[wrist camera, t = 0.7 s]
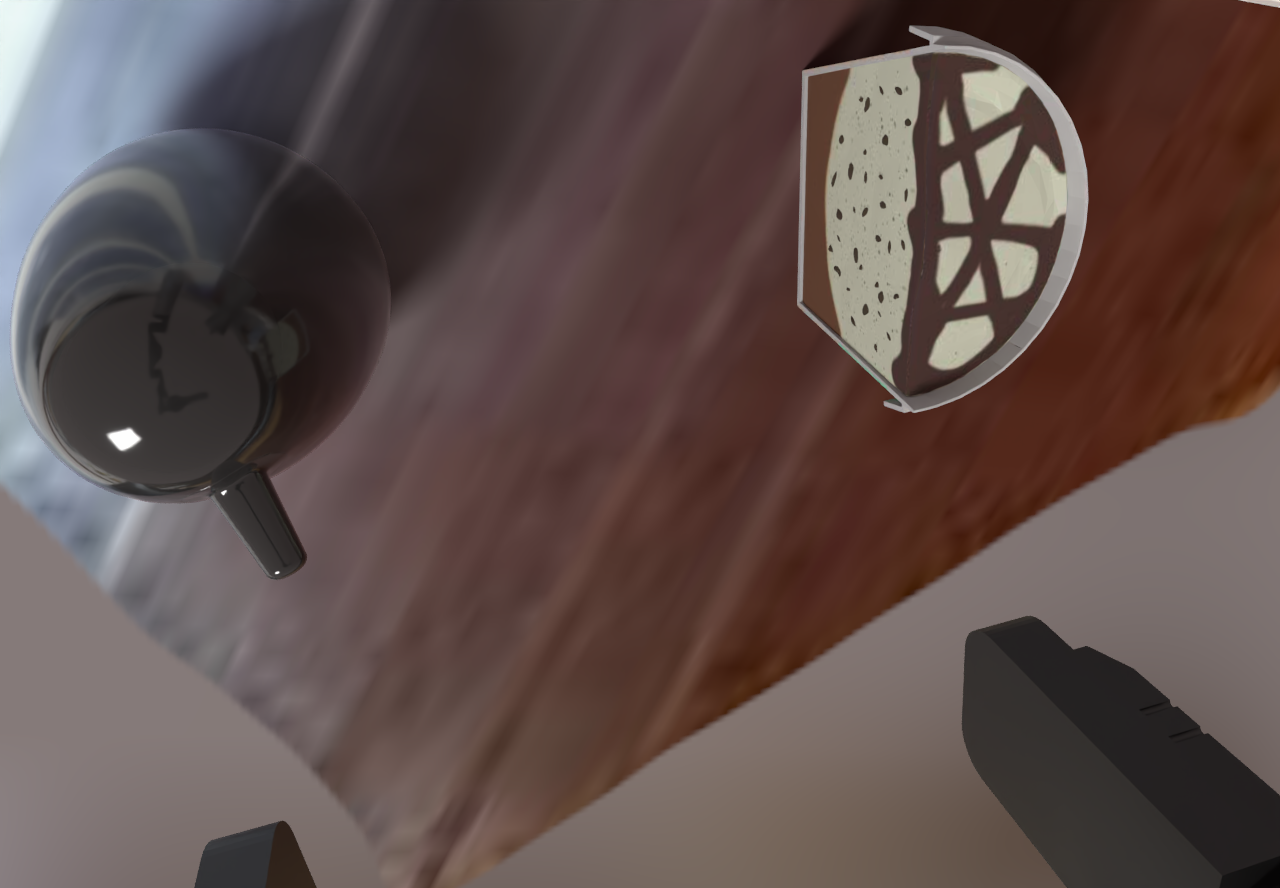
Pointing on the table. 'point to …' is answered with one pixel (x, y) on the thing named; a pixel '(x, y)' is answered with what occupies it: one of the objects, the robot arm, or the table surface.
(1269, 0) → the bench
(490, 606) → the table surface
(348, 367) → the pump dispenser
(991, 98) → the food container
